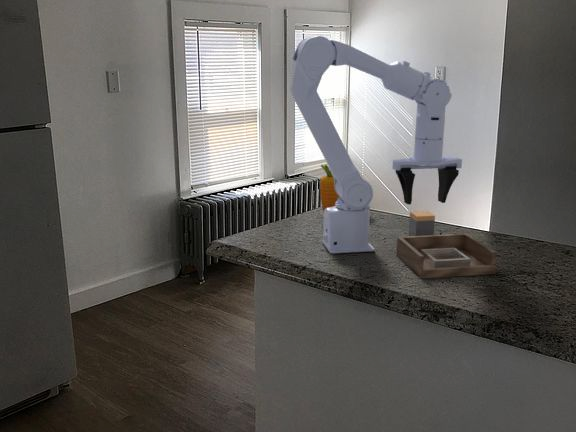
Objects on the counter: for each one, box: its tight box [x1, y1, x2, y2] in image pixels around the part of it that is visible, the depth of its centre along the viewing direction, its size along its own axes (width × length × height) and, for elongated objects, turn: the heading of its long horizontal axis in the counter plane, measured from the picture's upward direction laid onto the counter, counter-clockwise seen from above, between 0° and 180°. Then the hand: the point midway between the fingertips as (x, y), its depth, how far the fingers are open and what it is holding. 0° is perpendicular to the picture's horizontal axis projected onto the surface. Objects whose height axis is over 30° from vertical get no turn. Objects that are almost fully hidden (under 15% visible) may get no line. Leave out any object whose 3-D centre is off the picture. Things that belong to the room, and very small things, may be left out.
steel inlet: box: [420, 247, 471, 268], centre depth 120 cm, size 7×7×2 cm
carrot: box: [319, 163, 339, 213], centre depth 148 cm, size 5×5×15 cm
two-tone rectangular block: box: [408, 210, 436, 236], centre depth 131 cm, size 4×4×7 cm
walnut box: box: [396, 232, 498, 279], centre depth 120 cm, size 15×13×4 cm
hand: (424, 202), depth 130 cm, fingers open, 7 cm apart
